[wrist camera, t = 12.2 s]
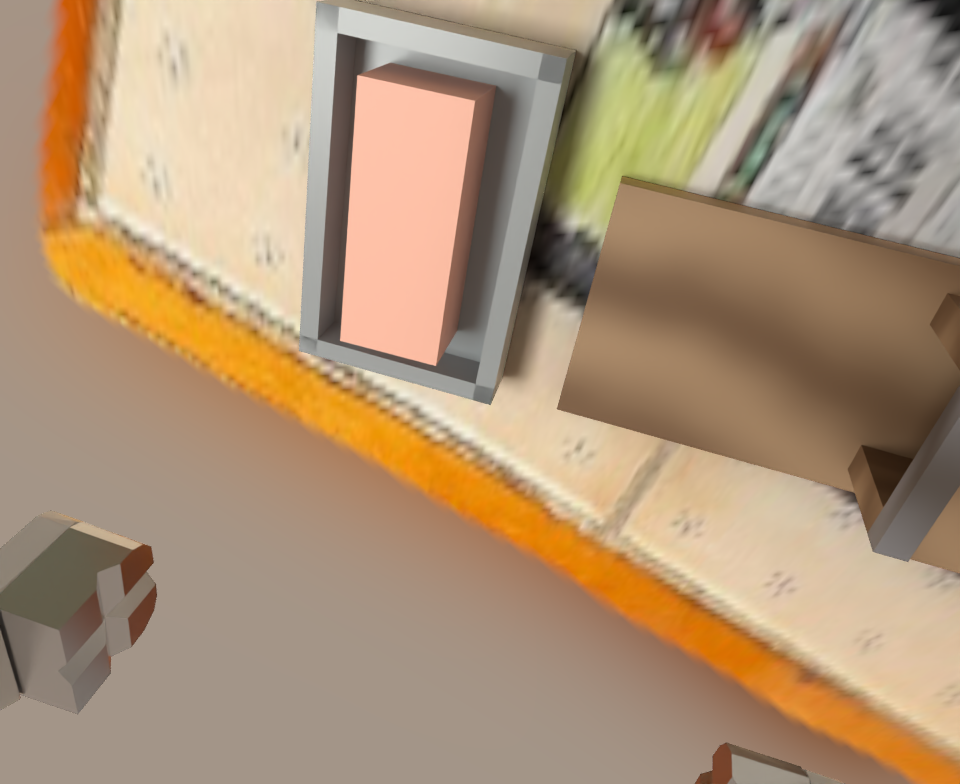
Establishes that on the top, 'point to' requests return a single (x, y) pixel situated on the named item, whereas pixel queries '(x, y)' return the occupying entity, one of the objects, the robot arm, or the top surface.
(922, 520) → the brown slab
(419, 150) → the salmon pink rectangular prism
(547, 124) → the tray
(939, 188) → the top surface
